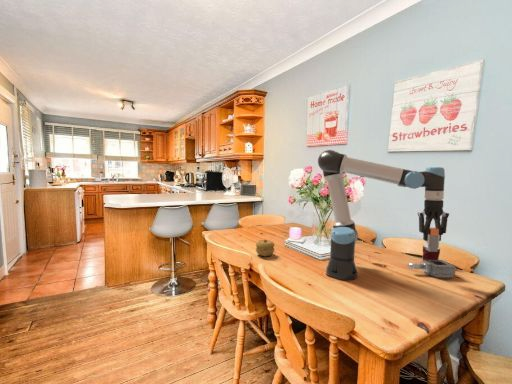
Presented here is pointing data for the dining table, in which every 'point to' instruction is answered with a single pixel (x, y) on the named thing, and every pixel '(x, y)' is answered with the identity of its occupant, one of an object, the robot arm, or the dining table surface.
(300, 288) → the dining table surface
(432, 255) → the mug
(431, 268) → the grey machine vise
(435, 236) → the grey orange upright block
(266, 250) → the brown round lump
